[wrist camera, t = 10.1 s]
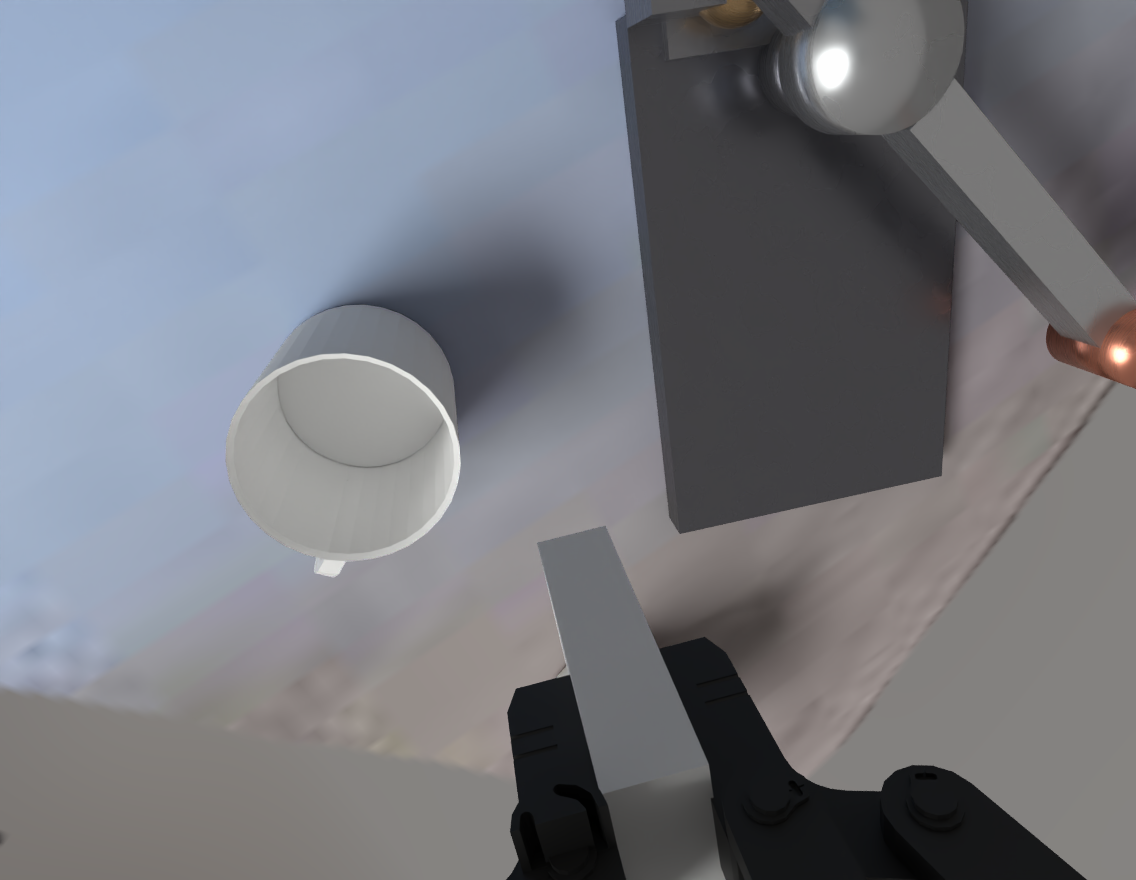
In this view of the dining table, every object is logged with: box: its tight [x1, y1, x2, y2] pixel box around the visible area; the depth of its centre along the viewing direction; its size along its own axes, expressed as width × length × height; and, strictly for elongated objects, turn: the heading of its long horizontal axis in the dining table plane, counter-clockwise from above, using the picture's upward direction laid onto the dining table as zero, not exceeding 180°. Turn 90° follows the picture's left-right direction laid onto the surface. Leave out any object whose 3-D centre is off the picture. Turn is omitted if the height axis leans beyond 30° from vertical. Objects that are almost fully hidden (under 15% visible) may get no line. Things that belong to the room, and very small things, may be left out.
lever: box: [753, 0, 1136, 389], centre depth 31 cm, size 28×6×4 cm, turn 51°
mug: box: [226, 305, 461, 577], centre depth 35 cm, size 12×9×9 cm
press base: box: [616, 0, 968, 534], centre depth 36 cm, size 30×16×6 cm, turn 9°
